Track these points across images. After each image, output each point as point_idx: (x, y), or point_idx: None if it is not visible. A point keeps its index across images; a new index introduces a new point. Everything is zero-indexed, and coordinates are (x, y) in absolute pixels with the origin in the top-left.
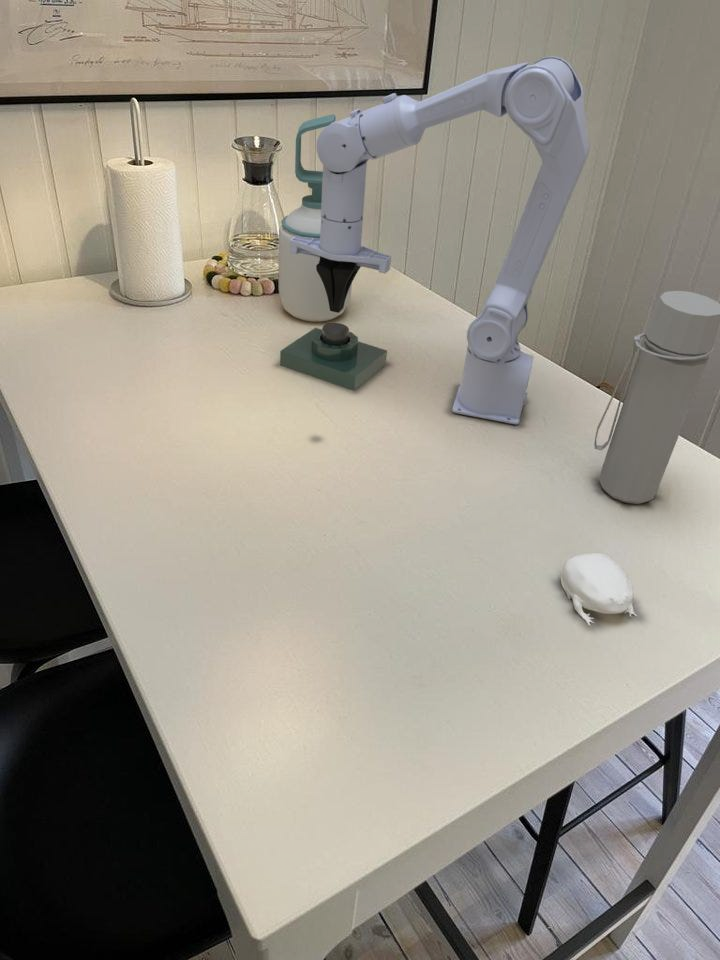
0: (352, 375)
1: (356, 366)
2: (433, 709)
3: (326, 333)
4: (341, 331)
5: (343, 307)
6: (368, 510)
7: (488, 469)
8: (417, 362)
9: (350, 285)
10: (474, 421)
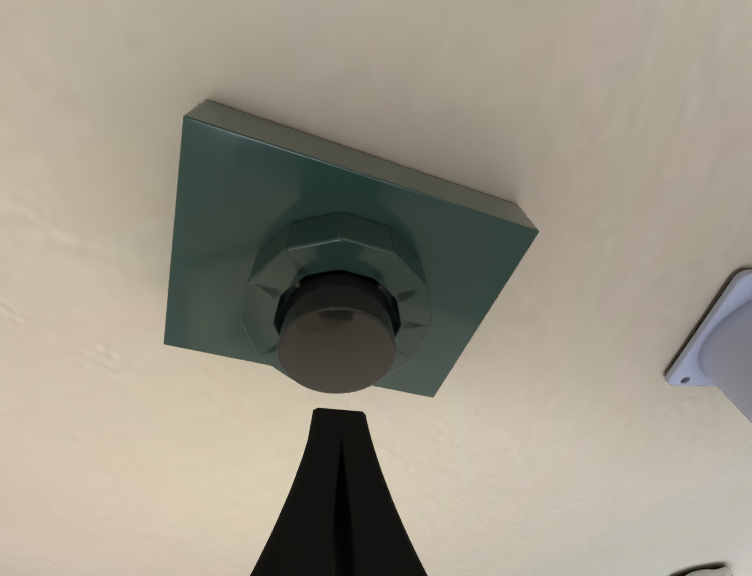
0: (425, 395)
1: (431, 356)
2: None
3: (312, 388)
4: (368, 370)
5: (365, 415)
6: (473, 560)
7: (667, 482)
8: (643, 145)
9: (409, 540)
10: (703, 387)
